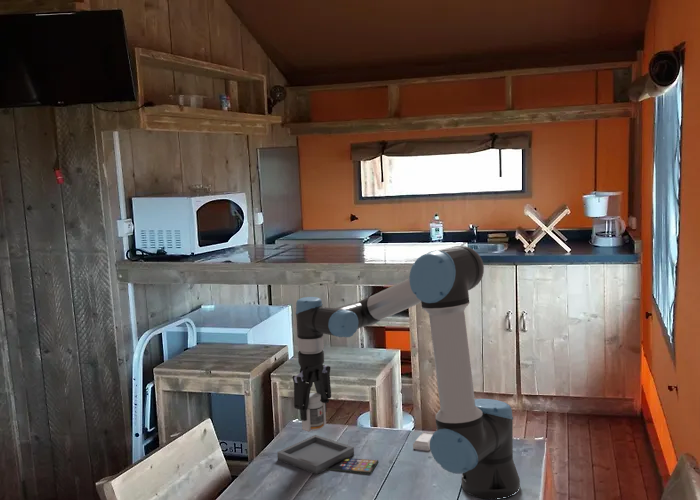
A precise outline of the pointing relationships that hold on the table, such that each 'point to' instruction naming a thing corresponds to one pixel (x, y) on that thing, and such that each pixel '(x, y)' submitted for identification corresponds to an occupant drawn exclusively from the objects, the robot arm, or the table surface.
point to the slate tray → (315, 454)
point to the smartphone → (354, 466)
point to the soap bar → (423, 441)
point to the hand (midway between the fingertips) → (314, 426)
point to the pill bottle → (316, 412)
